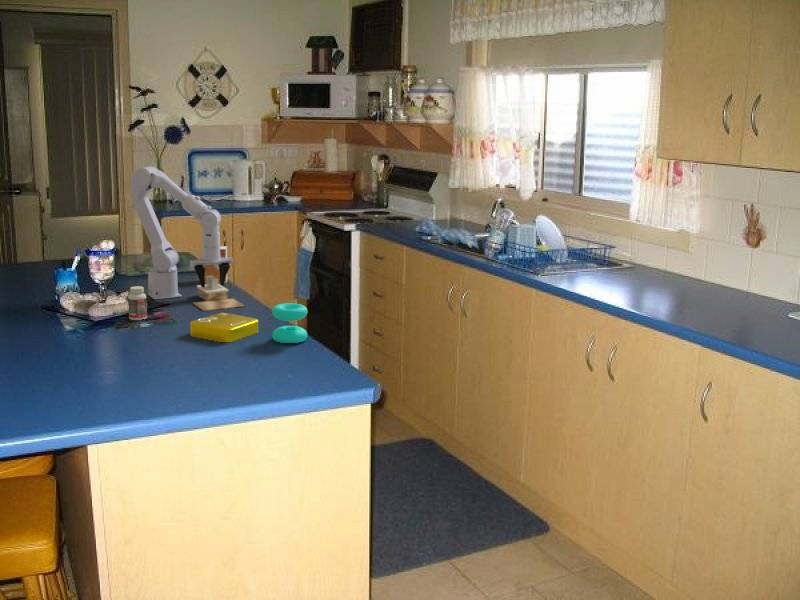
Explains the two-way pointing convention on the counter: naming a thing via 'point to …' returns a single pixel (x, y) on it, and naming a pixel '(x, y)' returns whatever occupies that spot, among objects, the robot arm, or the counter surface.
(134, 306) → the pill bottle
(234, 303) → the mat
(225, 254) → the small box
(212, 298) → the box
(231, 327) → the element tile
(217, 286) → the lid
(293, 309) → the donuts
